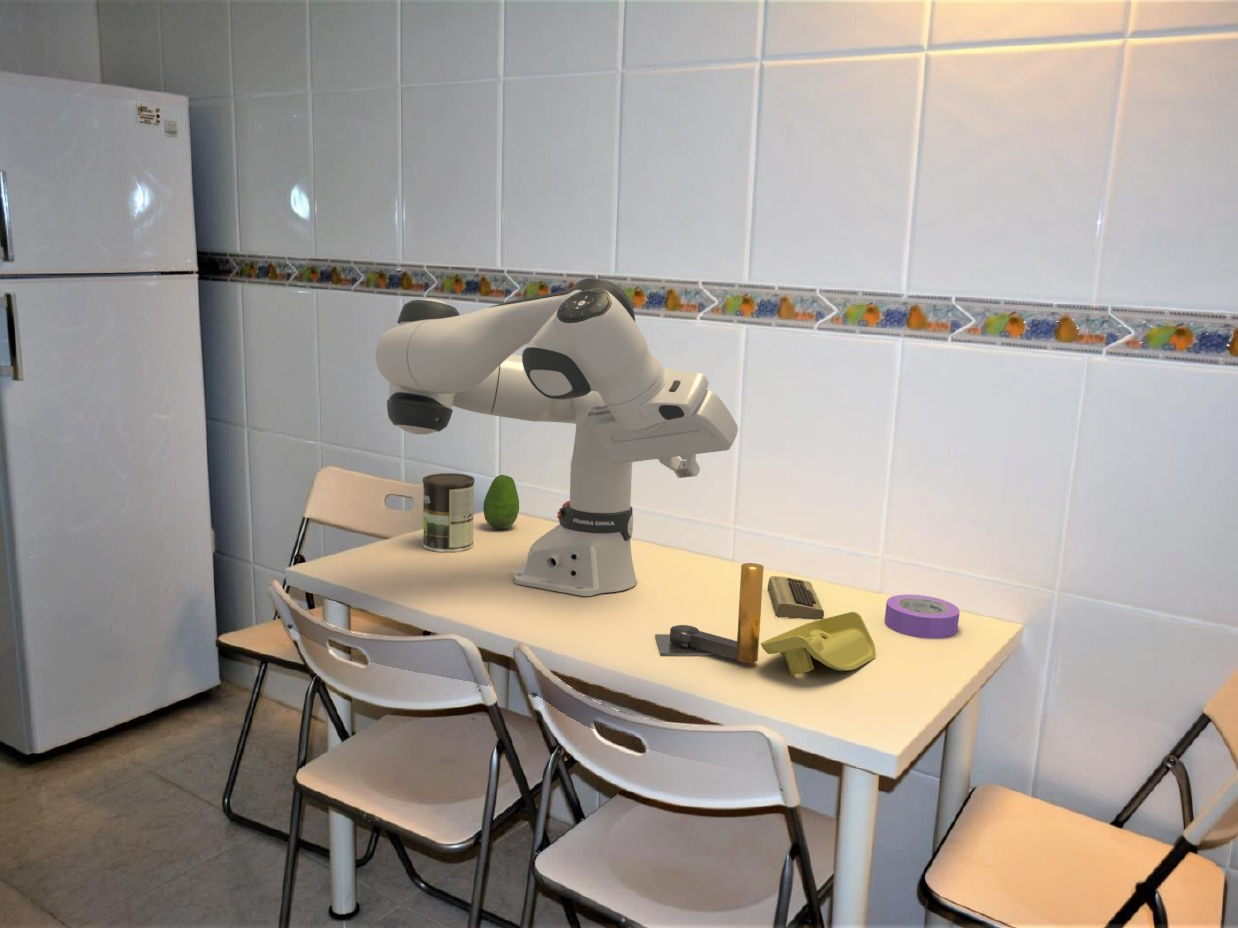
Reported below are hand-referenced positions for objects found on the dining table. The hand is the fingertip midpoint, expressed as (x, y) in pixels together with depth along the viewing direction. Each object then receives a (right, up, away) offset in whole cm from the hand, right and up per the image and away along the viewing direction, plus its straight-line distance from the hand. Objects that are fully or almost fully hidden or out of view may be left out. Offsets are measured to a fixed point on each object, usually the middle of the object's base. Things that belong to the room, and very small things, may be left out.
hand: (689, 474), depth 140 cm
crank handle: (+4, -27, +13) cm, 30 cm away
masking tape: (+40, -26, +29) cm, 56 cm away
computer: (+21, -24, +39) cm, 50 cm away
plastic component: (+19, -29, +12) cm, 36 cm away
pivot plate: (0, -27, +17) cm, 31 cm away
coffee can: (-45, -15, +68) cm, 82 cm away
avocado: (-36, -13, +83) cm, 91 cm away
